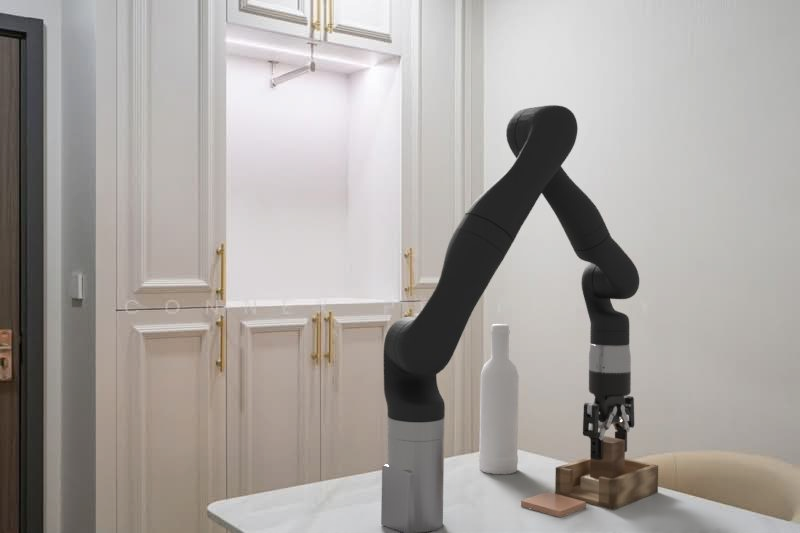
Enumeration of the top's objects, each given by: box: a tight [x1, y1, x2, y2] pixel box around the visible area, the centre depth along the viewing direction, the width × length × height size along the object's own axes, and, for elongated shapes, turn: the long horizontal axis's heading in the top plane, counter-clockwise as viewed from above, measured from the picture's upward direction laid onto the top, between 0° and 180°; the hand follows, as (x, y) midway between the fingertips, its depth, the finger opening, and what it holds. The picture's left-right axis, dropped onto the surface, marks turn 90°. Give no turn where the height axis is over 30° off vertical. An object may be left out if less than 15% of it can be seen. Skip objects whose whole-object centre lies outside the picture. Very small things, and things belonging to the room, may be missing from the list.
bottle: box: [478, 323, 519, 475], centre depth 158 cm, size 8×8×30 cm
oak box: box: [554, 457, 659, 511], centre depth 142 cm, size 16×12×5 cm
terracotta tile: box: [520, 491, 587, 518], centre depth 133 cm, size 8×8×1 cm
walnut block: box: [589, 435, 626, 479], centre depth 142 cm, size 4×4×7 cm
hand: (609, 455), depth 142 cm, fingers open, 8 cm apart
